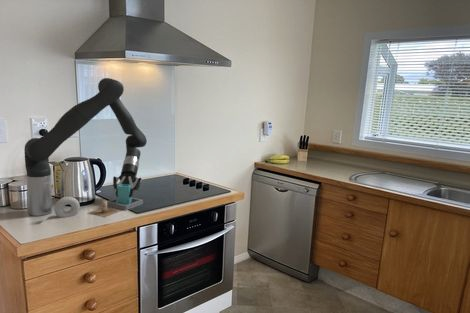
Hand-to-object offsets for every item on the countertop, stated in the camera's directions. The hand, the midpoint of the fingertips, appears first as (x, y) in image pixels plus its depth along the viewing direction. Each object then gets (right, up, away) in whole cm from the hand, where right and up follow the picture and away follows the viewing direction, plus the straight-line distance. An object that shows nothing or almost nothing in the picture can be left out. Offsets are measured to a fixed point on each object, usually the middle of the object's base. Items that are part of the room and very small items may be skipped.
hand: (123, 196), depth 167 cm
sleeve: (0, -3, +2) cm, 4 cm away
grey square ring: (0, -6, +3) cm, 6 cm away
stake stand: (-6, -7, -9) cm, 13 cm away
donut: (-19, -8, -16) cm, 26 cm away
